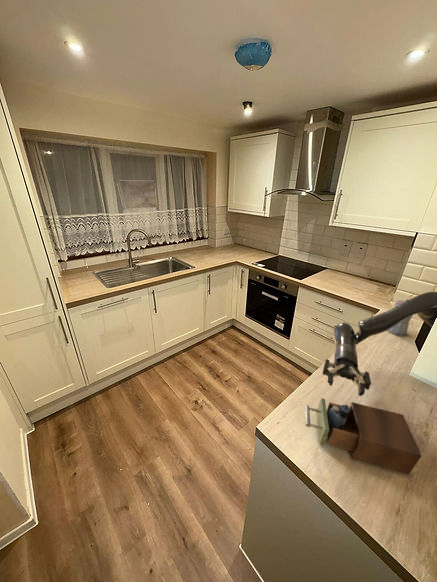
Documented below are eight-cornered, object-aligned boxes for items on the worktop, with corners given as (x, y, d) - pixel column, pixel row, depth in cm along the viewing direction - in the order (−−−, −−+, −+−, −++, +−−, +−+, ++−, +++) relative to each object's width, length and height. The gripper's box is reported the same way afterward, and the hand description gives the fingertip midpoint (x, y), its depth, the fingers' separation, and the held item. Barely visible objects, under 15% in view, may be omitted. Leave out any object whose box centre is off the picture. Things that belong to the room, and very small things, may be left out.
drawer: (303, 439, 73) (308, 424, 70) (302, 409, 83) (306, 394, 80) (368, 458, 68) (376, 443, 65) (359, 423, 78) (365, 409, 75)
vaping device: (336, 437, 73) (346, 411, 68) (323, 422, 77) (332, 397, 72) (342, 434, 74) (353, 408, 69) (329, 419, 78) (338, 394, 73)
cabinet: (352, 458, 69) (361, 438, 65) (344, 420, 80) (351, 402, 76) (408, 475, 66) (422, 455, 62) (392, 433, 77) (402, 414, 73)
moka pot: (378, 329, 132) (391, 297, 123) (397, 324, 137) (410, 293, 129) (395, 338, 124) (410, 306, 115) (414, 333, 129) (429, 301, 121)
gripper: (327, 344, 89) (324, 372, 76) (370, 356, 83) (375, 388, 70) (323, 359, 92) (319, 388, 79) (364, 372, 86) (367, 406, 73)
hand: (345, 388), depth 74 cm, fingers open, 8 cm apart
